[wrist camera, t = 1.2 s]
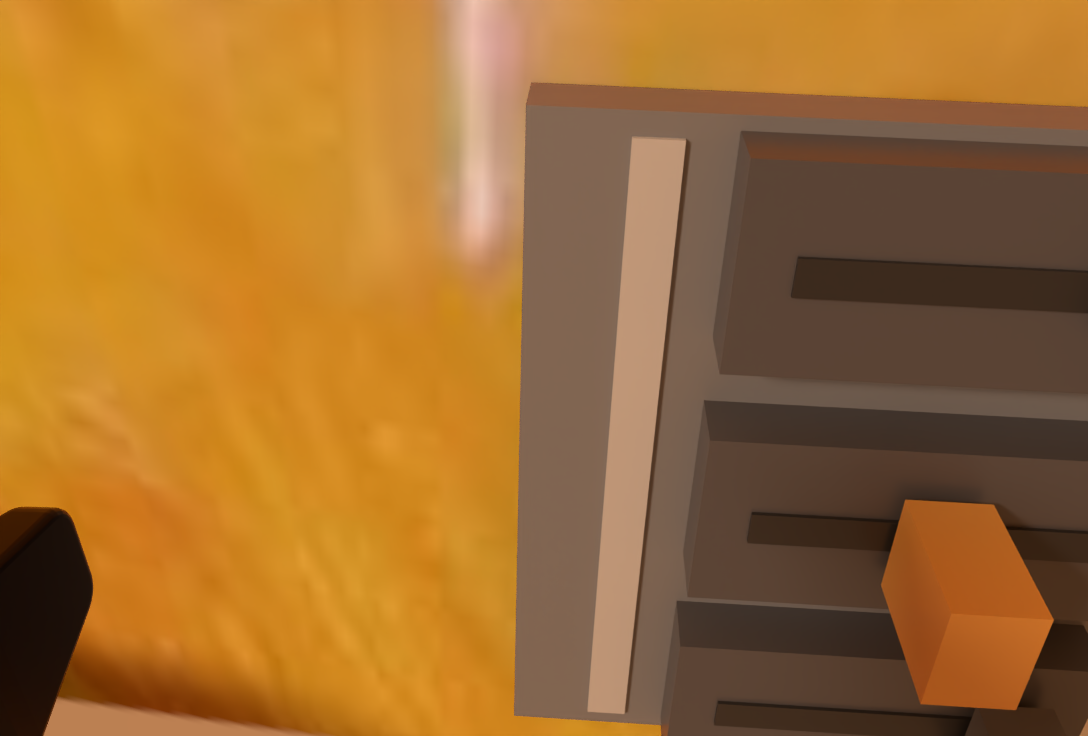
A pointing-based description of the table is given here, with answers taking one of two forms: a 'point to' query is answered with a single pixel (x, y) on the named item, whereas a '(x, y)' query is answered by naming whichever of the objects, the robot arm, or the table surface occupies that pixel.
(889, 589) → the handle
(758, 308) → the panel
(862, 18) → the table surface
